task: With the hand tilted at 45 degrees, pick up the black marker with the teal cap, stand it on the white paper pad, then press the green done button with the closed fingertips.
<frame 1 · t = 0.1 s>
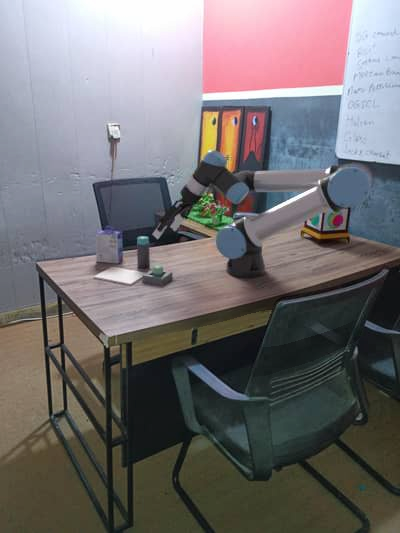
hand: (164, 232, 165), 15 cm above the table, tool tilted 35°, fingers open, 13 cm apart
paper pad: (121, 276, 162), on the table
marker: (143, 266, 173), on the table
decorative lantern: (324, 240, 215), on the table
button housing: (157, 279, 159), on the table
done button: (157, 271, 158), point 4 cm above the table, slide at 0.0 cm
ink cartridge box: (110, 261, 179), on the table
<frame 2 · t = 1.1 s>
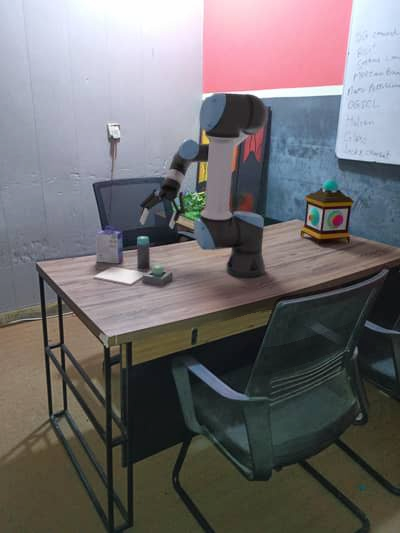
hand: (155, 225, 177), 15 cm above the table, tool tilted 45°, fingers open, 13 cm apart
nothing on the table moved.
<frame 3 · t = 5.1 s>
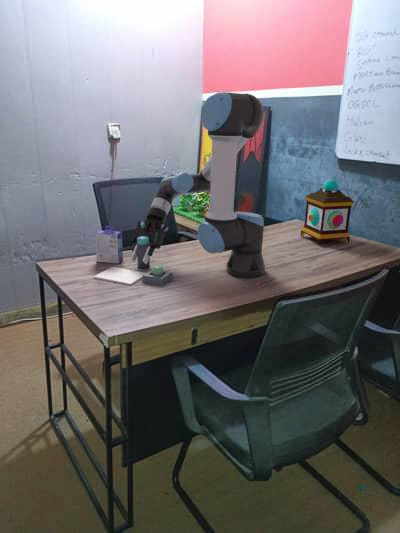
hand: (138, 261, 168), 3 cm above the table, tool tilted 45°, fingers closed on marker, 5 cm apart
marker: (143, 266, 173), on the table, touching gripper
everything else where it was.
when the fingers open (5 cm above the table, at t = 9.5 s): marker stays where it is, resting on paper pad.
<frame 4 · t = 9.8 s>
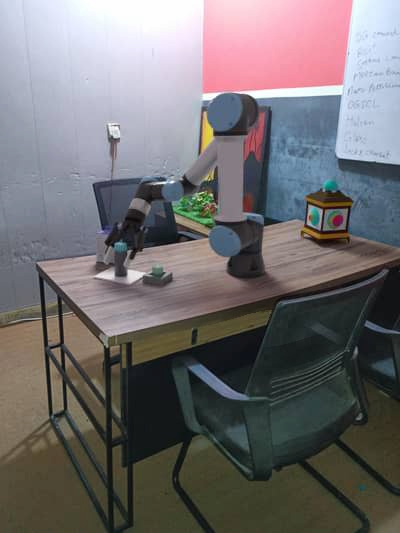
hand: (115, 265, 157), 6 cm above the table, tool tilted 45°, fingers open, 8 cm apart
marker: (121, 274, 162), point 1 cm above the table, touching paper pad
everything else where it was.
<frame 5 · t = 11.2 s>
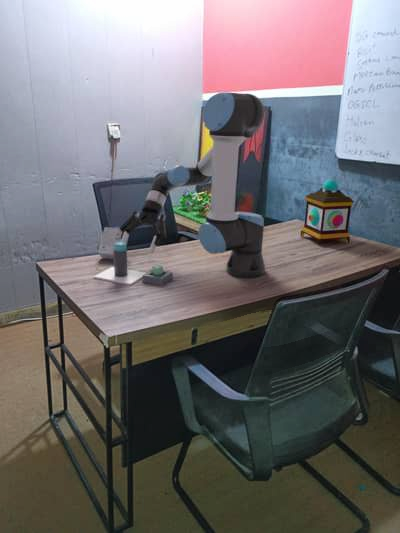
hand: (135, 249, 169), 8 cm above the table, tool tilted 45°, fingers open, 13 cm apart
ink cartridge box: (110, 257, 179), point 1 cm above the table
everything else where it was.
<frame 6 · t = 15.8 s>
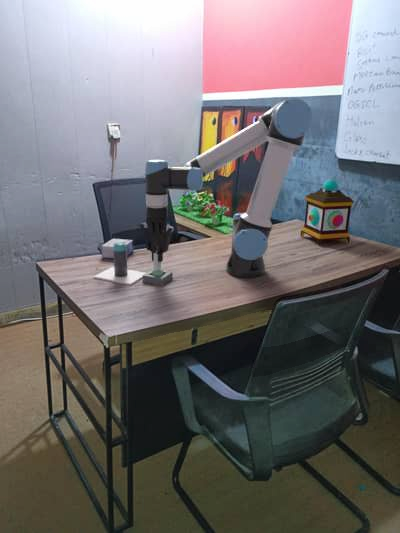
hand: (157, 269, 158), 4 cm above the table, tool pointing down, fingers closed
done button: (157, 274, 159), point 2 cm above the table, slide at 1.2 cm
ink cartridge box: (112, 253, 180), point 3 cm above the table
everything else where it was.
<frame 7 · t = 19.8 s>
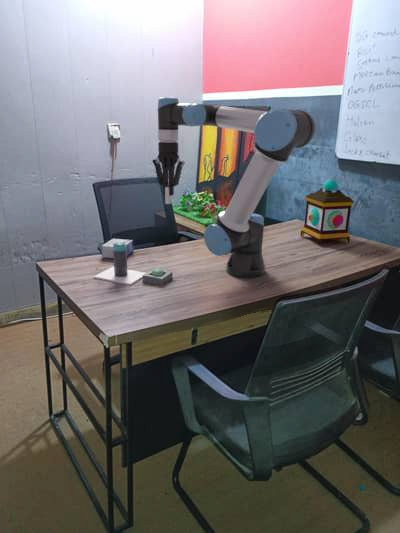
hand: (168, 203, 171), 24 cm above the table, tool pointing down, fingers closed
nothing on the table moved.
at the end: marker 0.1 cm from the paper pad (horizontally); marker tilted 1°; done button slide at 1.3 cm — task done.
